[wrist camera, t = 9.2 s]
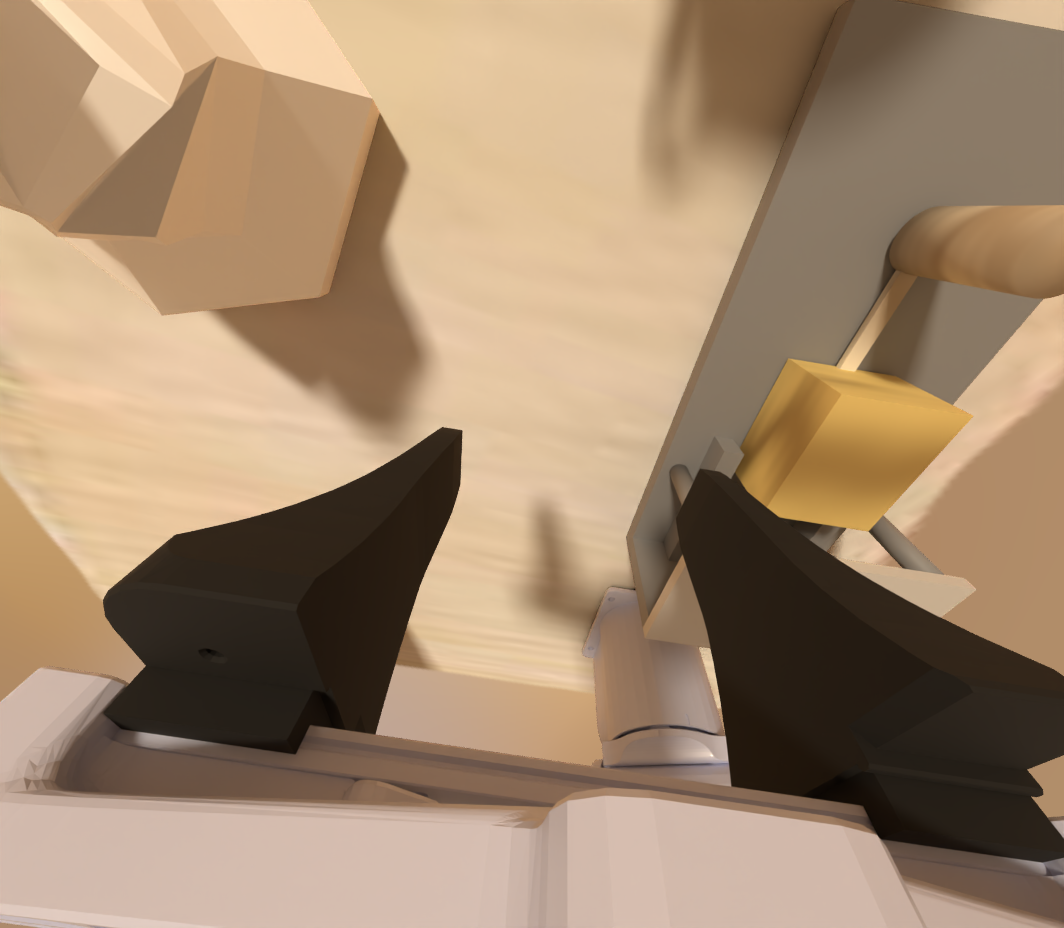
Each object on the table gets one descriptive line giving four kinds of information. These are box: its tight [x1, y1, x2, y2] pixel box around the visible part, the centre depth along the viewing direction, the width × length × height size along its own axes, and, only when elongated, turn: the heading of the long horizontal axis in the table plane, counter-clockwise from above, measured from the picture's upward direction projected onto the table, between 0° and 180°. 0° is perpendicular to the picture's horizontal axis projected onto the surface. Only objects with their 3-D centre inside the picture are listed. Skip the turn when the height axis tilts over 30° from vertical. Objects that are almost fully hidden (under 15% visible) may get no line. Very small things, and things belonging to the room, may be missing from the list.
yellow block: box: [735, 205, 1064, 531], centre depth 15 cm, size 12×5×5 cm, turn 172°
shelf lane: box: [626, 0, 1064, 648], centre depth 16 cm, size 24×12×7 cm, turn 172°
